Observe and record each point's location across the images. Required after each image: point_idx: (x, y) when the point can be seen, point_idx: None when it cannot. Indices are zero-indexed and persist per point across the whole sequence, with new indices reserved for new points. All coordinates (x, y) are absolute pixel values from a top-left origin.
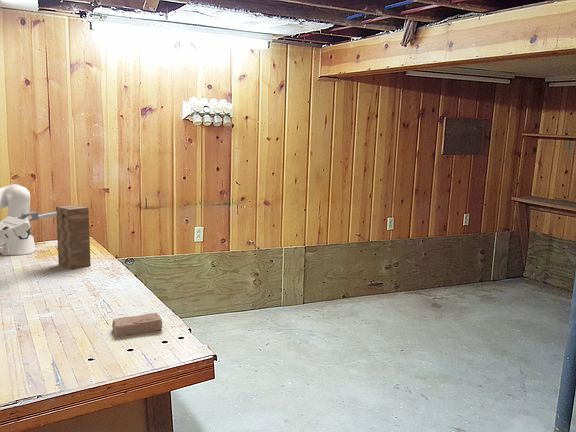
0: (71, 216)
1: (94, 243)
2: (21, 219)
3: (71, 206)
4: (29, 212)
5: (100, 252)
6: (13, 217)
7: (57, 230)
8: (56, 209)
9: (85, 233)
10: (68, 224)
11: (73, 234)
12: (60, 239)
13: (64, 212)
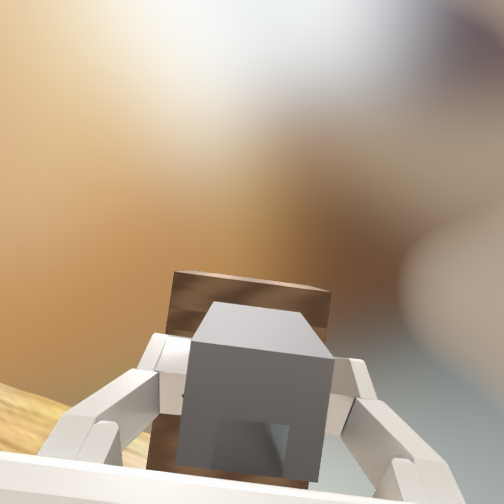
0: (324, 331)
1: (35, 395)
2: (132, 439)
3: (228, 276)
4: (221, 314)
5: None
6: (22, 456)
7: (157, 416)
8: (176, 288)
9: None
10: None
11: None
12: (182, 472)
13: (264, 307)
